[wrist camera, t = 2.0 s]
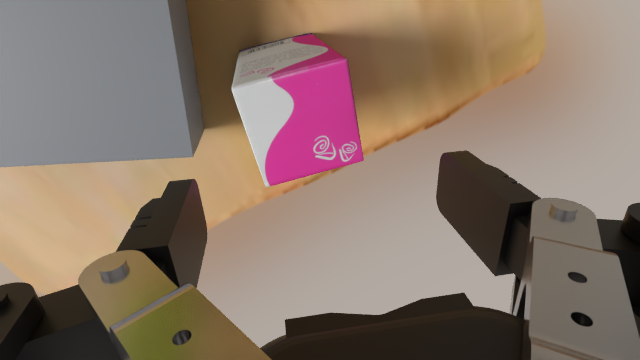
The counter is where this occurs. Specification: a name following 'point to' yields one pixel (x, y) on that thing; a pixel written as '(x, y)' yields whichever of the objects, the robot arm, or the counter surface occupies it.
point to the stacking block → (96, 82)
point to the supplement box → (297, 108)
